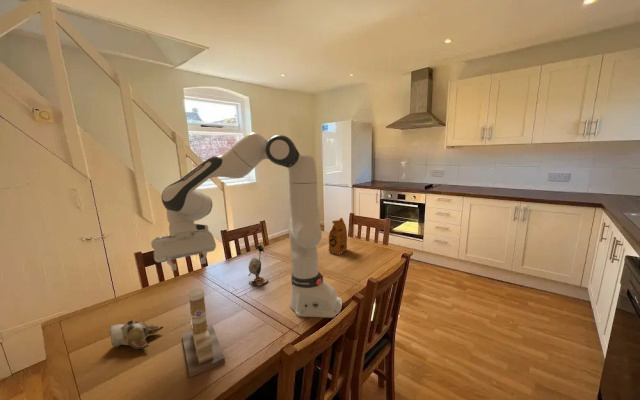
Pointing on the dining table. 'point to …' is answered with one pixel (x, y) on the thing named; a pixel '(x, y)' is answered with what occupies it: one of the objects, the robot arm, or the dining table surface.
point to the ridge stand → (202, 350)
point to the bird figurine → (256, 269)
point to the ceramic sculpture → (132, 334)
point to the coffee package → (338, 237)
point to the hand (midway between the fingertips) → (189, 266)
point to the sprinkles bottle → (198, 310)
